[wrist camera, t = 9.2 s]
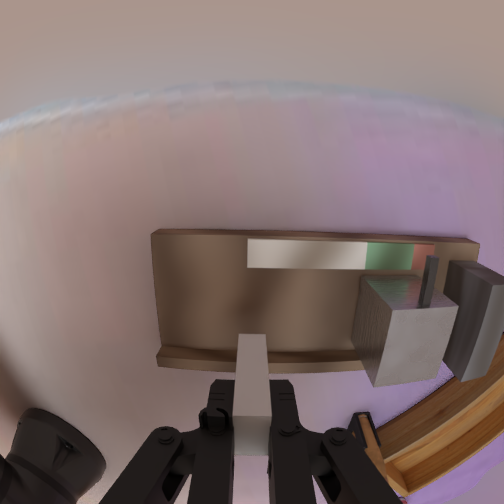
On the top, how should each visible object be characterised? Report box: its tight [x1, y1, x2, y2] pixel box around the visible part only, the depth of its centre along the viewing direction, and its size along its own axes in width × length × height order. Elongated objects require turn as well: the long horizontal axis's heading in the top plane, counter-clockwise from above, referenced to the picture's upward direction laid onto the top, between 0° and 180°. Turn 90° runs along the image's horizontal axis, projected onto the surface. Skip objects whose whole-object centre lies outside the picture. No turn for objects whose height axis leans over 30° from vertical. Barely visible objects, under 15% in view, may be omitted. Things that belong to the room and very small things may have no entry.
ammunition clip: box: [347, 412, 389, 484], centre depth 23 cm, size 11×2×12 cm, turn 175°
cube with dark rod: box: [351, 255, 459, 387], centre depth 19 cm, size 5×9×6 cm, turn 179°
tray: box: [376, 334, 504, 497], centre depth 25 cm, size 31×15×6 cm, turn 127°
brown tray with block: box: [151, 229, 504, 382], centre depth 20 cm, size 27×11×8 cm, turn 89°
